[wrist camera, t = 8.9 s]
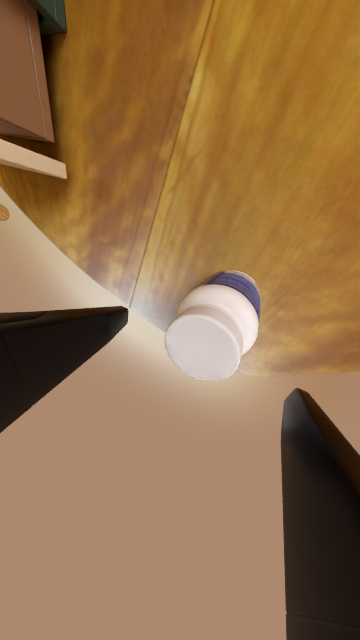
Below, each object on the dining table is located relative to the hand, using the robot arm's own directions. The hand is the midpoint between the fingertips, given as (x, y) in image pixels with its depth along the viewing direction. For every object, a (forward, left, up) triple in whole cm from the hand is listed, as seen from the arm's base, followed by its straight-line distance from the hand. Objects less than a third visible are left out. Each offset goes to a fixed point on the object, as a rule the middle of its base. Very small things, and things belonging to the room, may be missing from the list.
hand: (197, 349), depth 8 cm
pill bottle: (0, 0, -9) cm, 9 cm away
